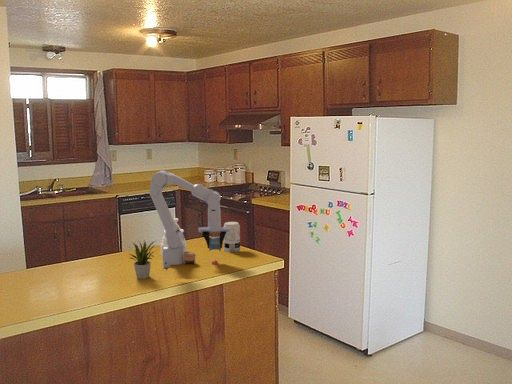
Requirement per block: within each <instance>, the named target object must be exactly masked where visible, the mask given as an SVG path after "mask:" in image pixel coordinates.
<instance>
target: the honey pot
mask: <svg viewBox="0 0 512 384" xmlns="http://www.w3.org/2000/svg"><path fill="white" fill-rule="evenodd" d="M173 220H174V222H175V224H176V225H177V226H178V228H179V230H180V231H181V232H182V233H183V234H184V233H185V230H184V229H183V228H181V226H180V225H179V224H178V222H179V218H177V217H176V218H175V217H173ZM182 243H183V245H184V253H188V245H187V241H186V238H185V237H184V240H183V241H182ZM164 247H168V244H167V237H166V234H165V229H164V230H163V236H162V239H161V243H160V255H161V256H162V257H163V248H164Z"/></svg>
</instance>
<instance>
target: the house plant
mask: <svg viewBox="0 0 512 384" xmlns="http://www.w3.org/2000/svg"><path fill="white" fill-rule="evenodd" d="M155 242H157V240H154V241H151V243H149V245H148V246H147V242H146V240H144V241H143V245H142V243H141V241H138V243H139V246H138V245H137V244H136V243H135V242H132V244H133V246H134V253H135V255H134V254H132V253H128V255H130V257H129V259H131V260H134V261H135V262H134V263H133V267H134V272H135V276H136V279H138V280H144V279H148V278H149V277H150V272H151V261H150V260H153V258H154V257H155V255H154V252H156V250H154V251H152V249H154V247H157V244H154V243H155ZM153 244H154V245H153ZM125 247H127V248H128V246H126V245H125ZM139 247H140V248H139ZM150 247H151V248H150ZM129 249H130V250H132V248H131V247H129ZM151 251H152V252H151Z"/></svg>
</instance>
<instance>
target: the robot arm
mask: <svg viewBox="0 0 512 384" xmlns="http://www.w3.org/2000/svg"><path fill="white" fill-rule="evenodd" d="M169 185H171V186H172V185H176V186H178V187H180V188H183V189H185V190H187V191H189V192H190V193H191V195H192V196H193V197H195V198H198V199H200V200H202V201H203V202H206V203H207V226H206V227H198V228H197V229H198V233H202V236H203V238H204V240H205V242H206V244H207V246H206V247H207V249H209V238H210V233H219V237H220V248H221V249H223V245H224V237H225V234H226V232H228V233H230V232H231V228H228V227H223V226H222V224H221V223H222V220H221V211H222V210H221V203H220V202H221V199H222V197H221V194H220V192H218V191H216V190H213V189H212V188H207V187H205V186H204V184H202V183H200V184H199V183H197V184H196V183H195V184H193V183H191V182H189V181H188V180H186V179H184V178H183V177H180V176H179V175H176V174H174V173H173V172H169V171H167V170H165V169H164V170H163V169H162V170H159V171H158V172H155V173H154V174H153V175H152V177H151V178H150V185H149V196H150V198H151V201H152V202H153V205H154V208H155V210H156V212H157V214H158V216H159V218H160V221H161V224H162V226H163V227H164V230H165V234H166V237H167V244H168V247H164V248H163V256H162V265H163V266H162V268H163V269H165V268H166V269H169V268H170V267H171V265H174V266H176V265H177V266H178V265H182V264H183V265H184V254H185V252H184V245H183V243H182V241H183V240H184V238H185V235H184V232H183V233H182V232H181V231H180V230H179V228H178V226H177V225H176V224H175V222H174V220H173V219H174V217H173V215H172V213H171V212H170V209H169V207H168V204H167V202H166V199H165V197H164V195H163V191H164V189H165V187H166V186H169Z"/></svg>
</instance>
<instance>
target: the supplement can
mask: <svg viewBox="0 0 512 384" xmlns="http://www.w3.org/2000/svg"><path fill="white" fill-rule="evenodd" d="M222 227H228V228H231V232H230V233H228V232H226V234H225V237H224V240H223V252H224V253H225V252H226V253H229V252H230V253H232V252H233V253H234V252H235V253H236V252H241V225H240V224H239V222H238V221H226V222H224V224H223V226H222Z"/></svg>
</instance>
